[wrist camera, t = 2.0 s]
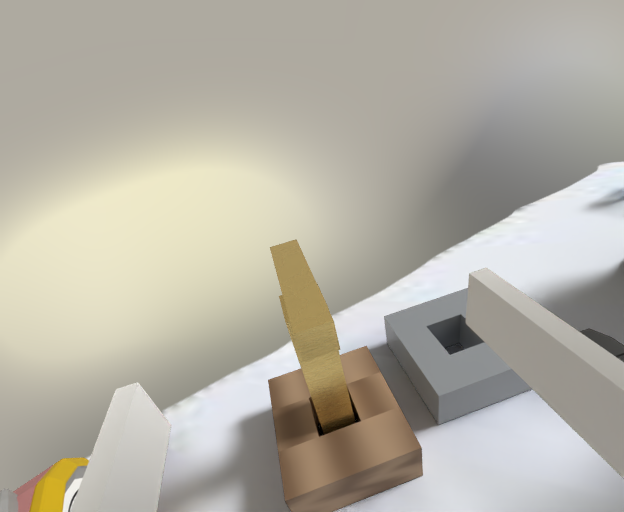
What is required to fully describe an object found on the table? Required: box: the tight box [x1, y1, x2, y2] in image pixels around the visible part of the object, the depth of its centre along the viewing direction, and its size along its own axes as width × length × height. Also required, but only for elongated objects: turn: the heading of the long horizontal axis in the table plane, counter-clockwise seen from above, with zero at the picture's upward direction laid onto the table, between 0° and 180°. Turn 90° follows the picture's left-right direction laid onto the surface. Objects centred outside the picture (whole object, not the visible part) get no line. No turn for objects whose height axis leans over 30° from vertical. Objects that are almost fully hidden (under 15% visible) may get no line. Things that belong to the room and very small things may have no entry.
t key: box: [270, 240, 355, 435], centre depth 28 cm, size 3×11×21 cm, turn 14°
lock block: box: [268, 346, 423, 512], centre depth 32 cm, size 12×12×5 cm
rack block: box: [384, 288, 532, 425], centre depth 36 cm, size 12×12×5 cm
